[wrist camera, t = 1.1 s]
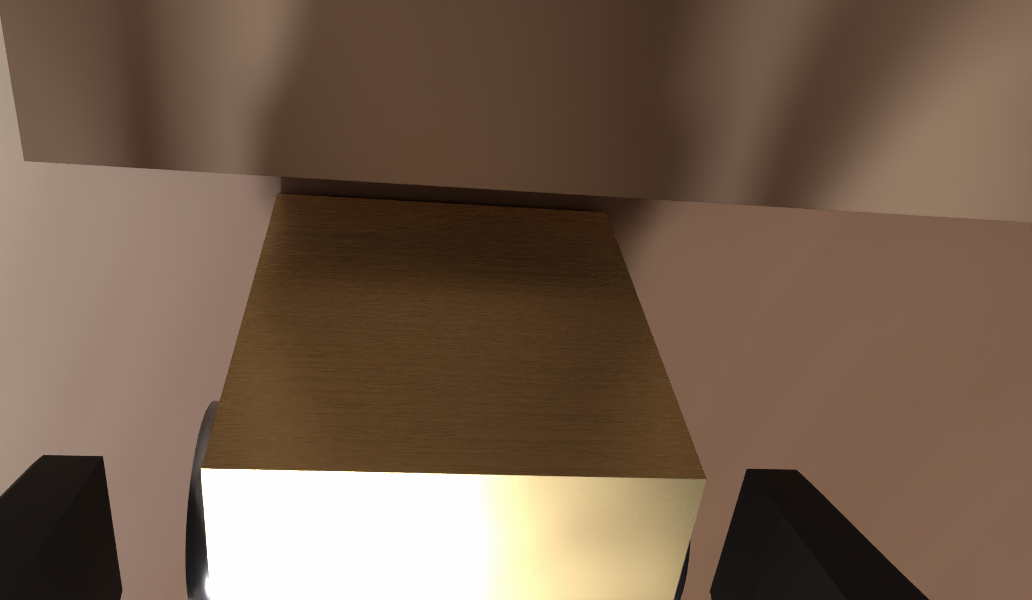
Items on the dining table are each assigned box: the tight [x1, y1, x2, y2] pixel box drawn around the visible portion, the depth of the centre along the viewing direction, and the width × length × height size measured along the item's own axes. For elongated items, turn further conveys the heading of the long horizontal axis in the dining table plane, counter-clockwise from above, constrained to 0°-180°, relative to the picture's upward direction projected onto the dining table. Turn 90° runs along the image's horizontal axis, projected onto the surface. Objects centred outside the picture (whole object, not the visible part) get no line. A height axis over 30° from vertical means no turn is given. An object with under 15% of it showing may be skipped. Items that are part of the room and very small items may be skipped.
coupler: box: [186, 194, 707, 600], centre depth 12 cm, size 5×4×6 cm
